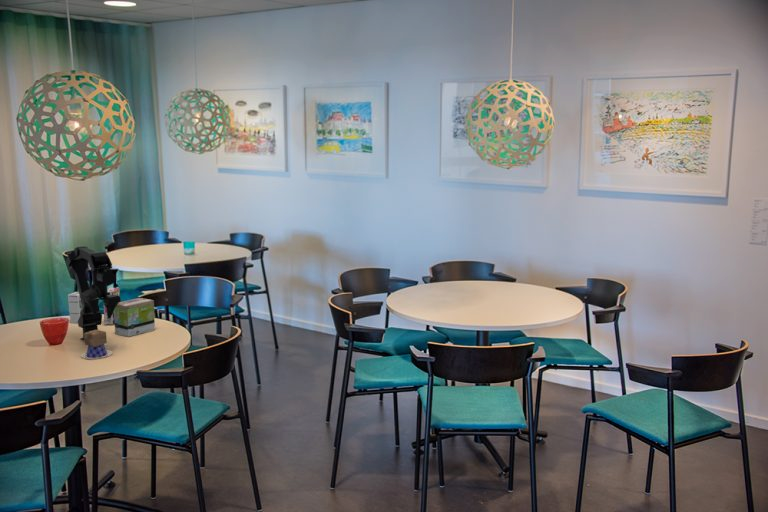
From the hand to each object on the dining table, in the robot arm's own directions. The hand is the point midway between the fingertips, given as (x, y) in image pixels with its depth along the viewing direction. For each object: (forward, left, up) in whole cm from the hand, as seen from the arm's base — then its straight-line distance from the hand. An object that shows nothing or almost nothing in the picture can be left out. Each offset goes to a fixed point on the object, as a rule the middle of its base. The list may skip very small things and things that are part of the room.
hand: (102, 317), depth 294 cm
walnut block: (+8, -10, -8) cm, 15 cm away
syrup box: (-44, +20, -13) cm, 50 cm away
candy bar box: (-29, +28, -13) cm, 42 cm away
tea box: (-6, +22, -13) cm, 26 cm away
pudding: (+8, -10, -14) cm, 19 cm away
